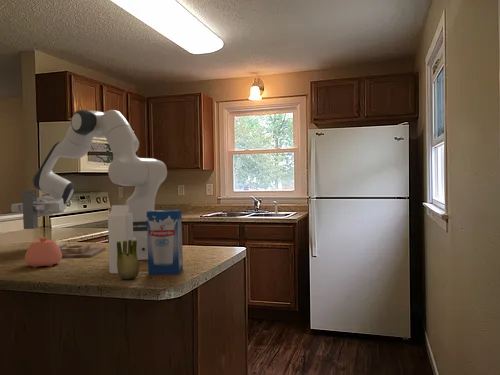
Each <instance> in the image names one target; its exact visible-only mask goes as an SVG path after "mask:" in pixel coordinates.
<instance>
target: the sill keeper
mask: <svg viewBox="0 0 500 375" xmlns="http://www.w3.org/2000/svg"><path fill="white" fill-rule="evenodd" d="M57 245H58V244H57ZM58 247H59V248H60V250H61V253H62V259H70V258H71V259H74V258H75V259H79V258H93V257H95V256H97V255H99V254H100V253H103V252H104V251H106V249H107V248H106V247H91V244H79V245H78V244H74V245H73V244H72V245H71V244H70V245H69V244H68V245H67V243H61V244H59V245H58Z"/></svg>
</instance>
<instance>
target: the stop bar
mask: <svg viewBox="0 0 500 375" xmlns="http://www.w3.org/2000/svg"><path fill="white" fill-rule="evenodd" d="M21 196H22V198H21V199H22V202H21V203H23V212H22V219H23V230H36V229H38V228H39V221H38V220H39V218H38V216H39V215H38V214H37V210H34V206H37V198H38V197H37V189H28V190H27V189H26V190H25V189H24V190H23V189H22V190H21Z"/></svg>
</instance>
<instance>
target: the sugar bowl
mask: <svg viewBox="0 0 500 375" xmlns="http://www.w3.org/2000/svg"><path fill="white" fill-rule="evenodd" d="M47 238H48V237H44V236H43V237H42V236H41V237H38V239H39V240H36V241H33V242H32V243H31V244H30V245H29V247H28V248H27V250H26V252H25V256H24V263H25V264H27V266H30V267H32V268H34V269H35V268H39V267H45V266H46V267H47V266H48V267H49V266H50V267H53V265H56V264H59V262H61V260H62V259H63V258H62V253H61V250H60V248H59V247H58V244H57V242H56V241H54V240H50V239H49V240H47Z"/></svg>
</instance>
